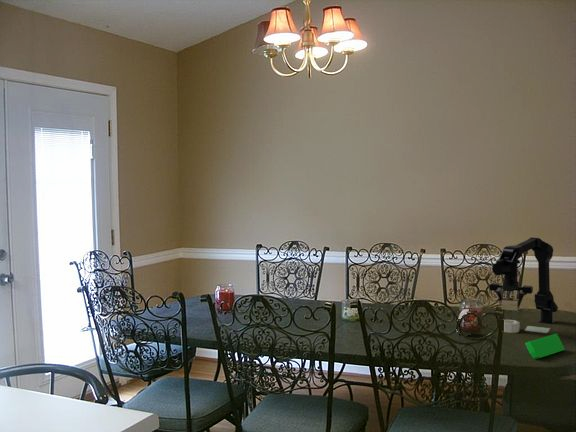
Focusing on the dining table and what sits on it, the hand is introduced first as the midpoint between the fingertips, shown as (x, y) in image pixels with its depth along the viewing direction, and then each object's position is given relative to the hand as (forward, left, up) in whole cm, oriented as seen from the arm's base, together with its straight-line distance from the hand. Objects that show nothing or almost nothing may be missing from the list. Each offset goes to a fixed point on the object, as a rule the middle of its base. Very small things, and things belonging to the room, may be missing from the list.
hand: (510, 306), depth 270 cm
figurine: (+16, -17, -12) cm, 26 cm away
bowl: (0, 0, -12) cm, 12 cm away
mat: (-8, +11, -12) cm, 18 cm away
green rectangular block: (+30, +16, -13) cm, 36 cm away
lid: (0, 0, -1) cm, 1 cm away
